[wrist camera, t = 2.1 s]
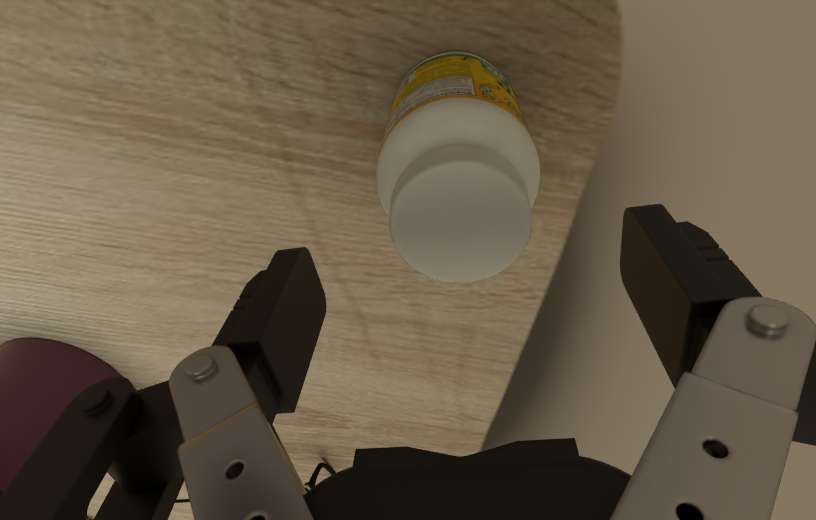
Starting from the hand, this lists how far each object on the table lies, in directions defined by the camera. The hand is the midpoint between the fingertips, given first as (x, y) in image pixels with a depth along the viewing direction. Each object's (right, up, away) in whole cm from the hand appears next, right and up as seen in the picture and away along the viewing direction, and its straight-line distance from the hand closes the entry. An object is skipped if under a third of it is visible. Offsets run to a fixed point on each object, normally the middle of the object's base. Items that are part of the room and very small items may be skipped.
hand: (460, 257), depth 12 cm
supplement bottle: (+1, +7, +9) cm, 11 cm away
